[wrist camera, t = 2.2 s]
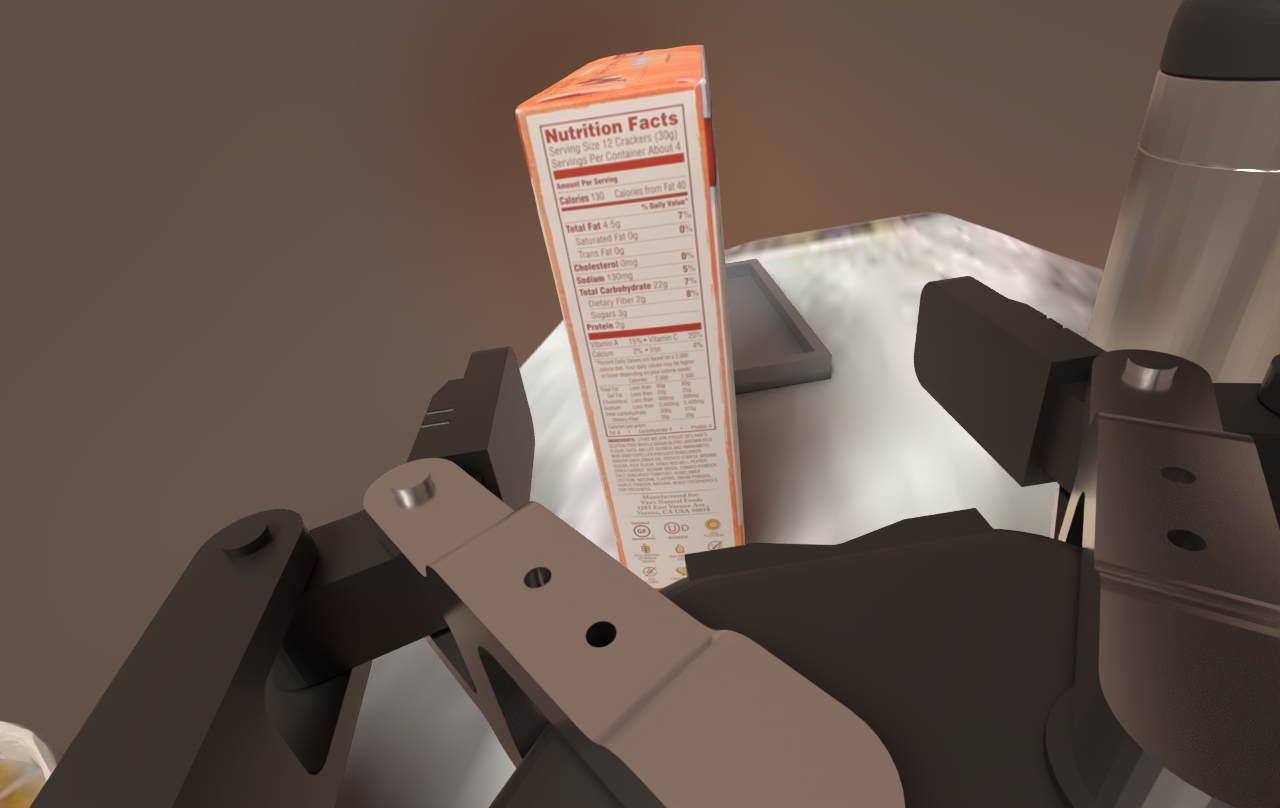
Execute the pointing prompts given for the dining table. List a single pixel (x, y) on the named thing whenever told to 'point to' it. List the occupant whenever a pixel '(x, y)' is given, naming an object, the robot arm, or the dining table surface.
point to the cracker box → (644, 295)
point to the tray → (769, 334)
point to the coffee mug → (24, 764)
